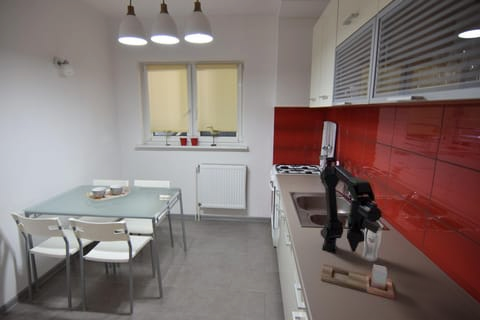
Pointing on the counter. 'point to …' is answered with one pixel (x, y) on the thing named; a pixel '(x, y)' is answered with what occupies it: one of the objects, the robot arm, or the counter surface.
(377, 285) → the square peg
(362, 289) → the brown flat frame piece
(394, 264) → the counter surface
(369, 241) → the beer glass
